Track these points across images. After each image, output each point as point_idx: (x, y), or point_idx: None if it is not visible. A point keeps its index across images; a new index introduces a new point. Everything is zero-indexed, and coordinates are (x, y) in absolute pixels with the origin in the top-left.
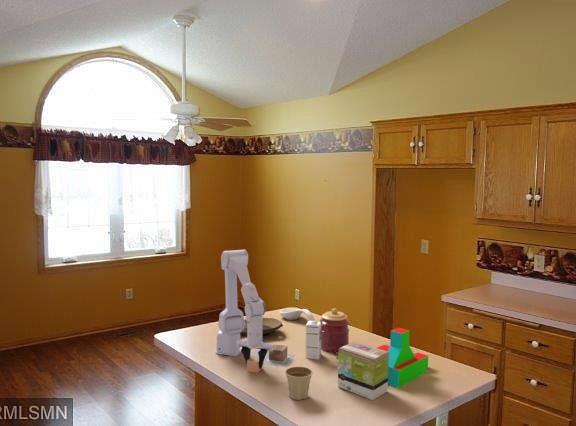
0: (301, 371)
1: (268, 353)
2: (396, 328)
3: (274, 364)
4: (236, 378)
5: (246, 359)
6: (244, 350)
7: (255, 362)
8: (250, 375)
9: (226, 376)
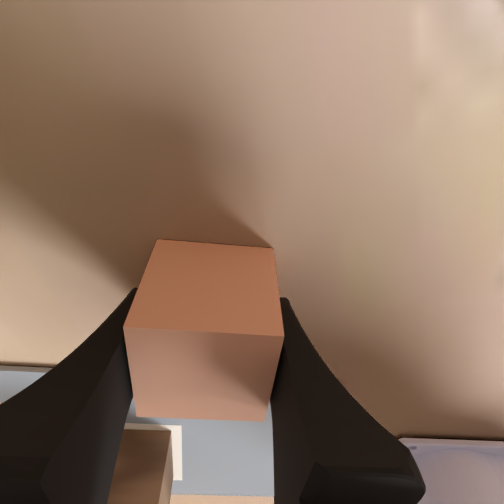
0: None
1: (209, 483)
2: None
3: None
4: (356, 55)
5: (296, 354)
6: (354, 486)
7: (164, 320)
8: (213, 180)
9: (486, 90)
